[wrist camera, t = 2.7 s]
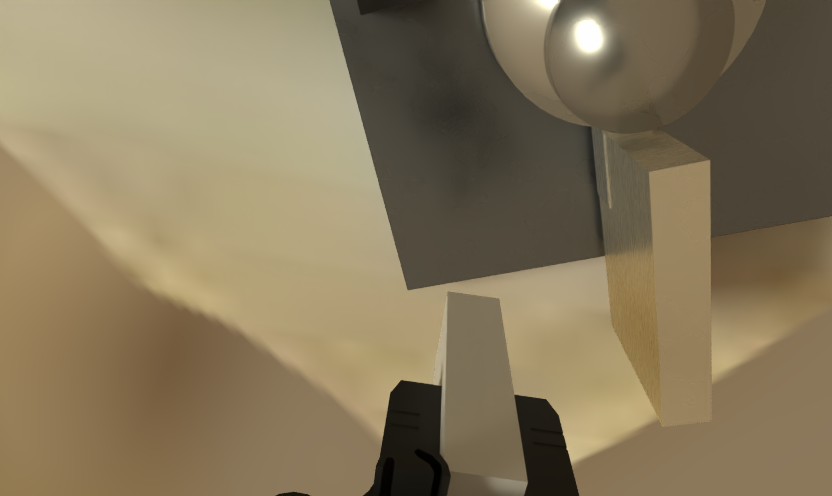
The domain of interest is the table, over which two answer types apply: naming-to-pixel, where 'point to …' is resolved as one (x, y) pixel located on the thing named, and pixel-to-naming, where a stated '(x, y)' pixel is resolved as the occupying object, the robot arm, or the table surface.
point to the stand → (567, 139)
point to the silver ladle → (638, 159)
